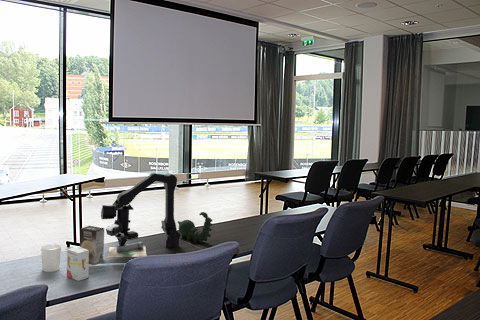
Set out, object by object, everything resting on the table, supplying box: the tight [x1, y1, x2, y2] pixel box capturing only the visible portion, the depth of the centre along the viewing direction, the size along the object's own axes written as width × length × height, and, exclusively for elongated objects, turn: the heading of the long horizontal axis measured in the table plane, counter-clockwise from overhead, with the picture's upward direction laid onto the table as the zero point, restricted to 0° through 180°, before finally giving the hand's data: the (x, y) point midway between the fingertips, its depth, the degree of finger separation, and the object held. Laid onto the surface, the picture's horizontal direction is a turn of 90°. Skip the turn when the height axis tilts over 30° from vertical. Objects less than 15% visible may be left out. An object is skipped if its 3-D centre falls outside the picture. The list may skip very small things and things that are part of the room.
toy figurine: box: [177, 211, 213, 243], centre depth 232 cm, size 9×19×25 cm
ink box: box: [66, 246, 90, 281], centre depth 170 cm, size 9×5×12 cm, turn 55°
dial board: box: [107, 245, 147, 259], centre depth 204 cm, size 18×17×1 cm
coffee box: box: [79, 225, 105, 266], centre depth 189 cm, size 9×6×16 cm
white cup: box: [40, 243, 62, 273], centre depth 177 cm, size 8×8×10 cm
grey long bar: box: [116, 241, 144, 253], centre depth 206 cm, size 14×4×3 cm, turn 135°
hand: (121, 248), depth 204 cm, fingers closed
